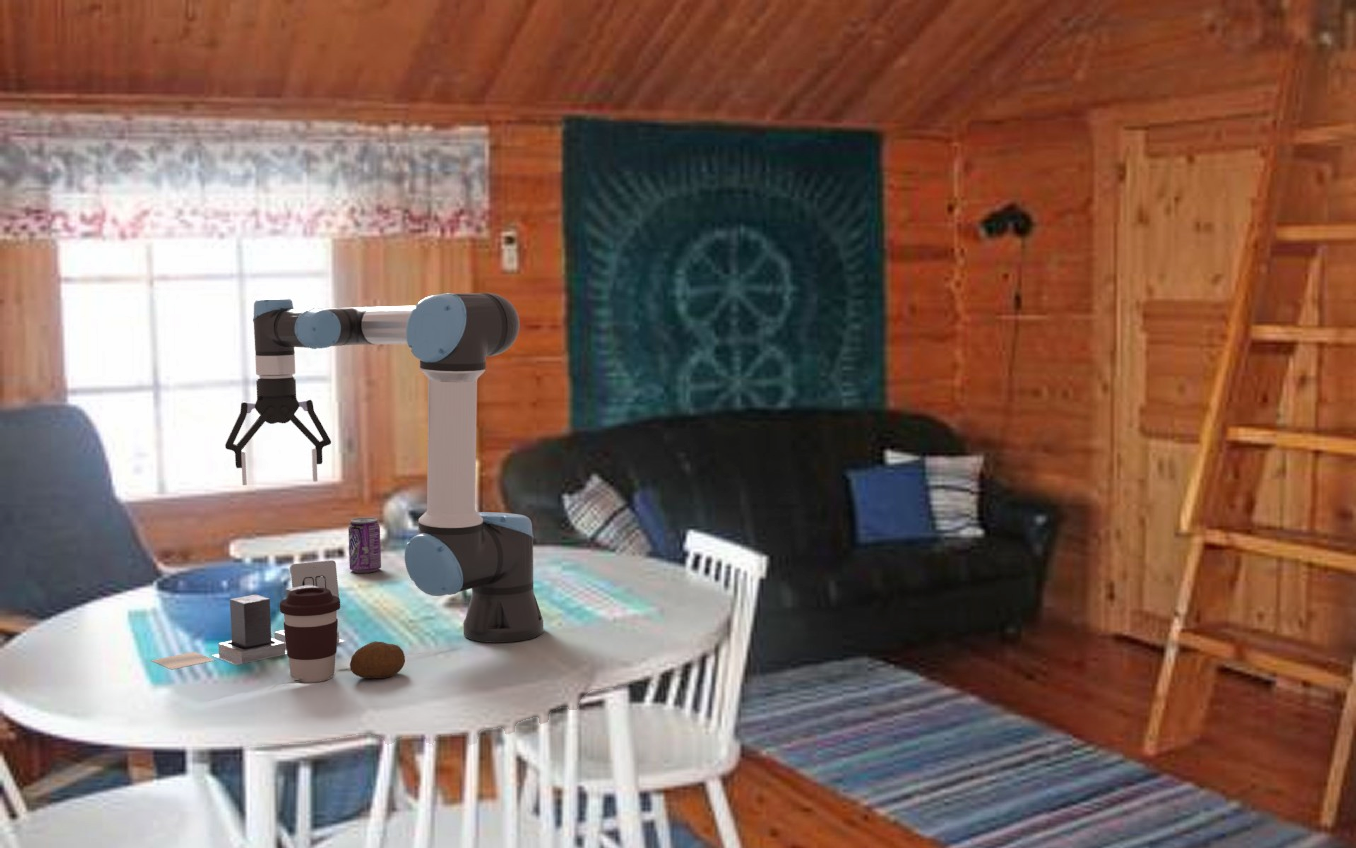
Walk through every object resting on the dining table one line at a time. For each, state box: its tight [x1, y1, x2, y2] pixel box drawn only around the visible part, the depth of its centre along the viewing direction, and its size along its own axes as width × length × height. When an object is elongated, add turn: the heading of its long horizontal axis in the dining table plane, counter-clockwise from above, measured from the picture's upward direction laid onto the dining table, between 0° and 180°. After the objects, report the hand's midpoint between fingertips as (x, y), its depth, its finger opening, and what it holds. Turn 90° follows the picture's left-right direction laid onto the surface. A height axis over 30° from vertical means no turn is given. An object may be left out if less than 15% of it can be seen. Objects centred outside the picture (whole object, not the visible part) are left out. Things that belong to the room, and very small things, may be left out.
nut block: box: [229, 594, 272, 650], centre depth 254 cm, size 5×5×10 cm
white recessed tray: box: [211, 629, 346, 666], centre depth 258 cm, size 9×22×3 cm, turn 135°
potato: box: [349, 640, 406, 679], centre depth 242 cm, size 7×10×6 cm
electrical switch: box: [289, 559, 340, 598], centre depth 295 cm, size 9×5×9 cm, turn 116°
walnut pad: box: [151, 651, 216, 670], centre depth 250 cm, size 8×8×1 cm
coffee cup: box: [279, 587, 341, 684], centre depth 242 cm, size 10×10×15 cm
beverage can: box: [347, 516, 382, 574], centre depth 328 cm, size 7×7×12 cm
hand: (280, 482), depth 285 cm, fingers open, 13 cm apart
